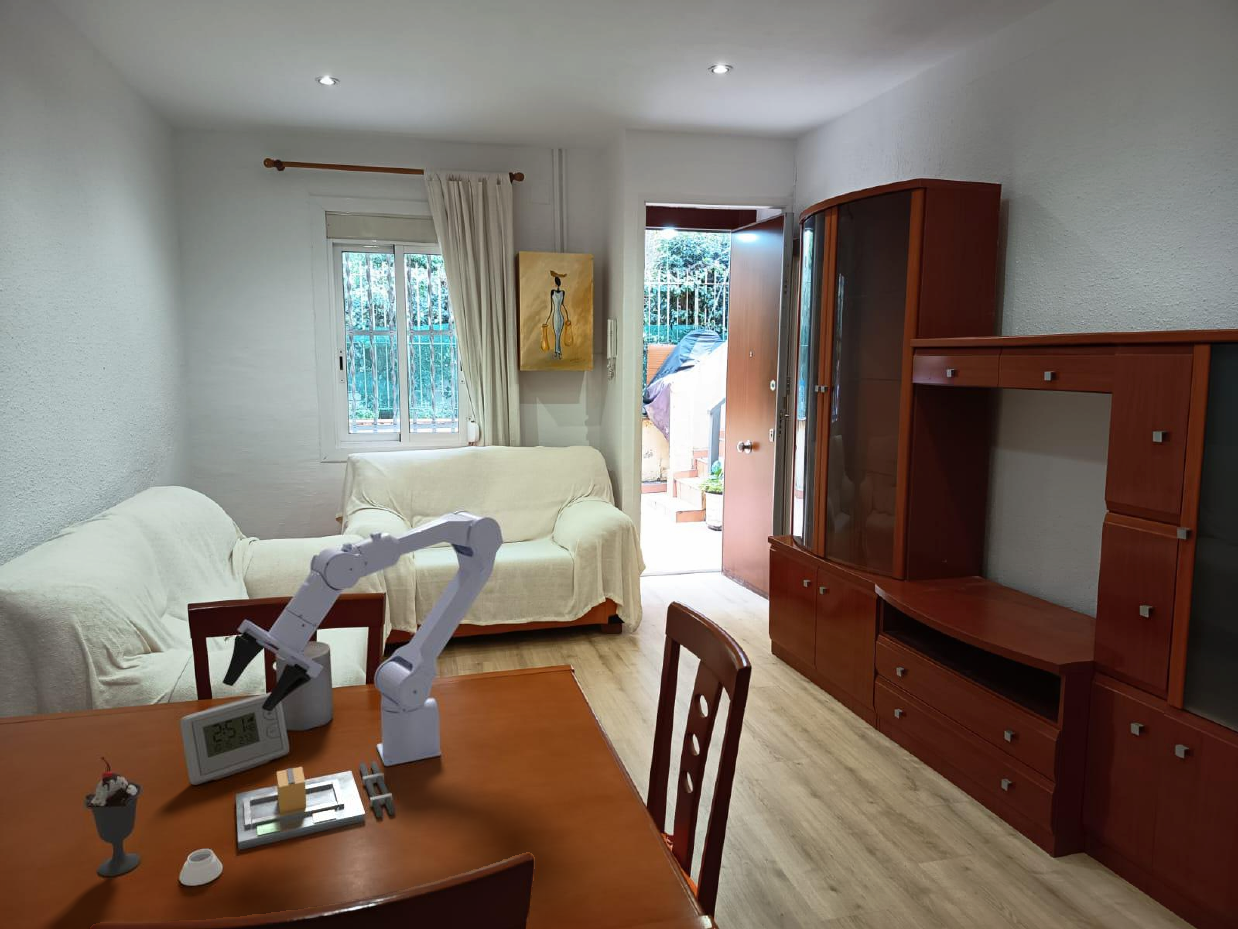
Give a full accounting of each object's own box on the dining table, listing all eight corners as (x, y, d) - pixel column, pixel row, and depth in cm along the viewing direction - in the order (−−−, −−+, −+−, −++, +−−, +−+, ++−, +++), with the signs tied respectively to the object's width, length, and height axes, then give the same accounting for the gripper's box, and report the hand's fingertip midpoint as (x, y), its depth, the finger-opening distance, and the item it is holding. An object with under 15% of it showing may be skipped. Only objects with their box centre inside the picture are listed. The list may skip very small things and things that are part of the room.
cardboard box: (303, 793, 126) (301, 765, 126) (306, 809, 122) (305, 780, 121) (277, 799, 125) (276, 770, 124) (280, 815, 120) (278, 786, 120)
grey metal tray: (351, 777, 134) (351, 767, 134) (365, 821, 121) (364, 809, 121) (236, 801, 126) (235, 790, 126) (238, 850, 114) (237, 838, 114)
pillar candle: (295, 707, 161) (291, 633, 158) (343, 710, 159) (339, 635, 157) (268, 729, 151) (263, 651, 149) (318, 733, 150) (314, 654, 148)
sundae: (105, 852, 113) (97, 748, 111) (156, 850, 114) (149, 747, 112) (78, 882, 107) (69, 773, 105) (132, 880, 107) (125, 771, 105)
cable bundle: (377, 765, 138) (377, 758, 138) (396, 813, 123) (396, 807, 123) (357, 769, 137) (357, 762, 136) (375, 818, 122) (374, 812, 122)
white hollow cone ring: (210, 889, 106) (229, 865, 111) (208, 868, 105) (228, 845, 110) (172, 888, 106) (193, 864, 111) (170, 866, 106) (192, 844, 111)
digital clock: (186, 791, 129) (182, 726, 128) (180, 767, 137) (176, 706, 136) (294, 764, 138) (291, 703, 137) (283, 743, 146) (280, 685, 144)
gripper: (253, 590, 126) (196, 669, 122) (328, 635, 123) (272, 718, 119) (273, 600, 133) (219, 676, 128) (345, 644, 129) (292, 723, 125)
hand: (246, 697), depth 124 cm, fingers open, 7 cm apart
